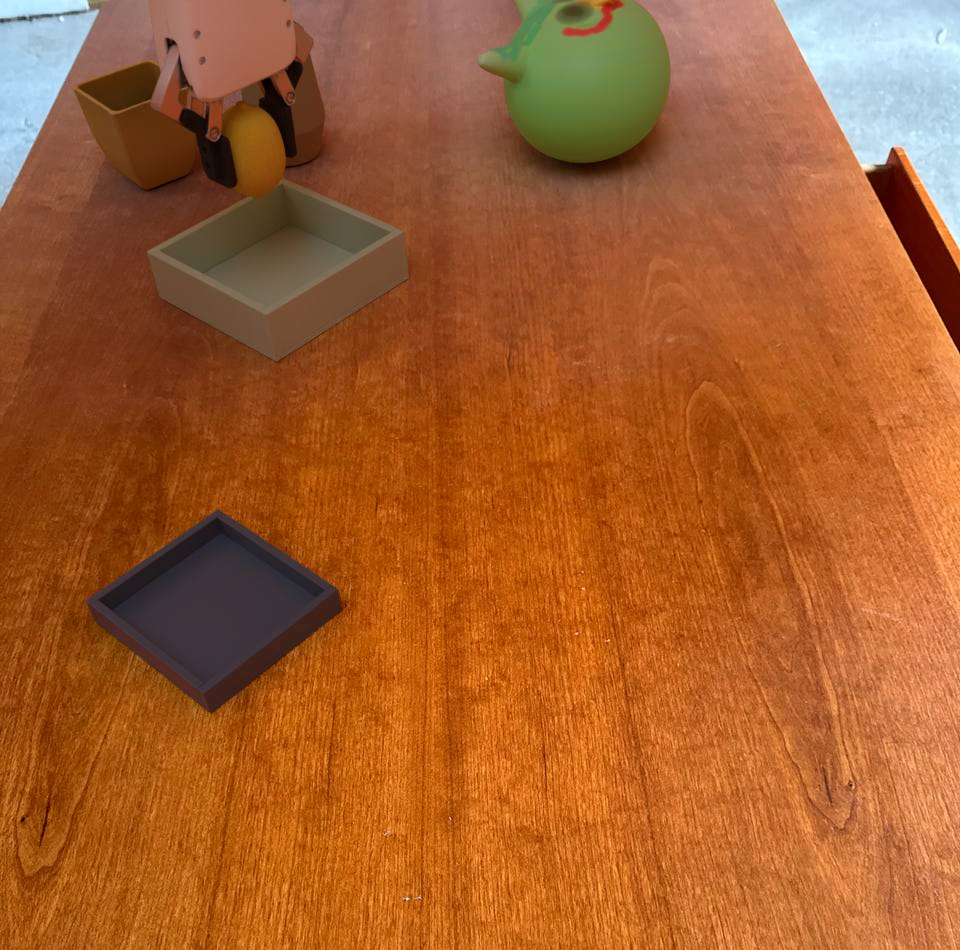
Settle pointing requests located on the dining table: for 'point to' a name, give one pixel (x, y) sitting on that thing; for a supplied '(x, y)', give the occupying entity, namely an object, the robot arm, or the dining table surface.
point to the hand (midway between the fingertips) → (252, 165)
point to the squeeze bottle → (300, 113)
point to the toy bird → (583, 76)
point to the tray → (215, 608)
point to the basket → (279, 267)
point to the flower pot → (136, 125)
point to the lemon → (254, 149)
